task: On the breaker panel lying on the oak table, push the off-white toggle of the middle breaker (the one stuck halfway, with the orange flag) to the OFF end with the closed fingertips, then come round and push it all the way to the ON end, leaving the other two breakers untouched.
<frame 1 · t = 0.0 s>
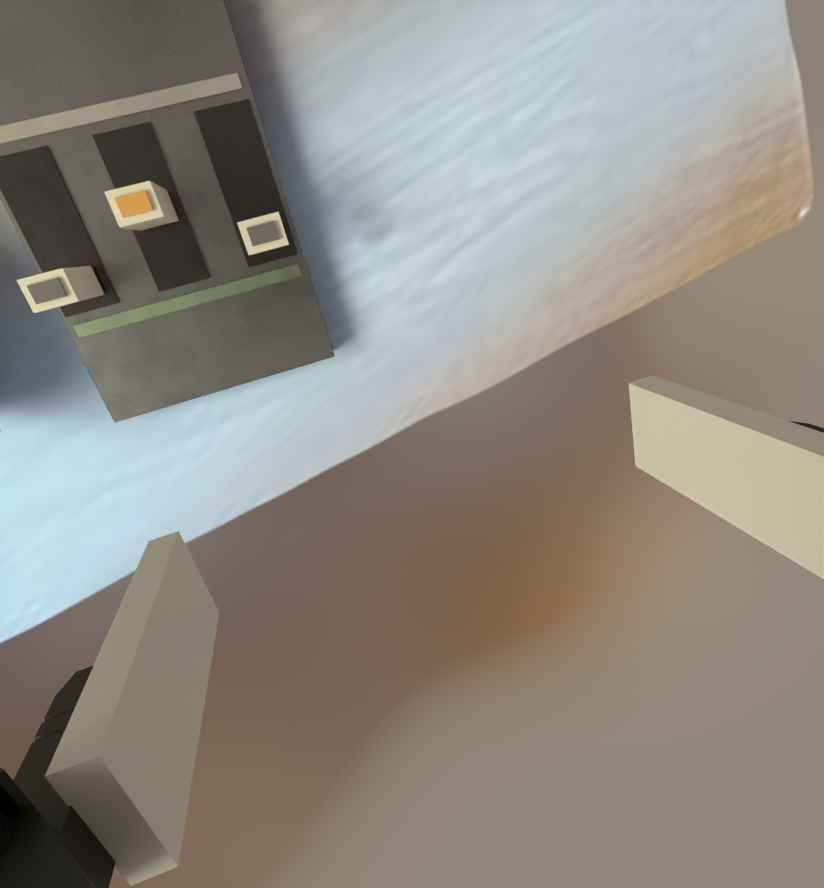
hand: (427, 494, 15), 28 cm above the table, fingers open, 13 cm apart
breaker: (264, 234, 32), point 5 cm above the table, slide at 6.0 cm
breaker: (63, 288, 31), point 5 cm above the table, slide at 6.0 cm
breaker mid: (144, 207, 30), point 5 cm above the table, slide at 3.0 cm
panel: (161, 213, 35), on the table
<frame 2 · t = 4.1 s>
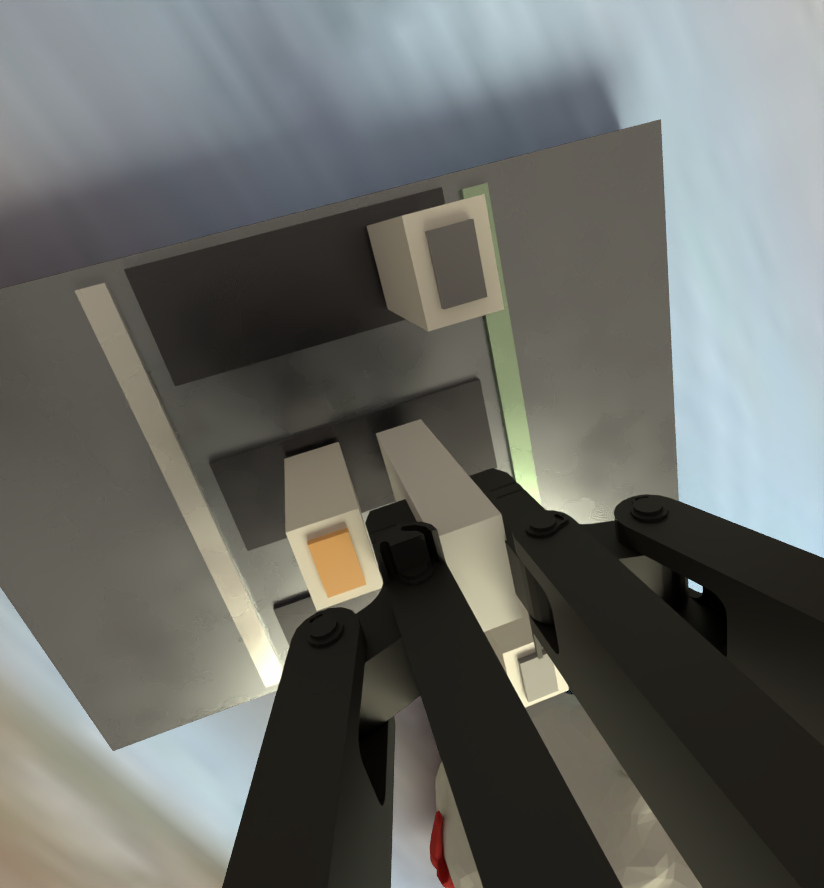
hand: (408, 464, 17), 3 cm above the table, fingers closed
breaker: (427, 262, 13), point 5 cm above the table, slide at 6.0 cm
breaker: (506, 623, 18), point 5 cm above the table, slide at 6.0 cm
breaker mid: (329, 517, 15), point 5 cm above the table, slide at 1.6 cm, touching gripper
panel: (354, 443, 20), on the table
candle: (508, 745, 28), on the table
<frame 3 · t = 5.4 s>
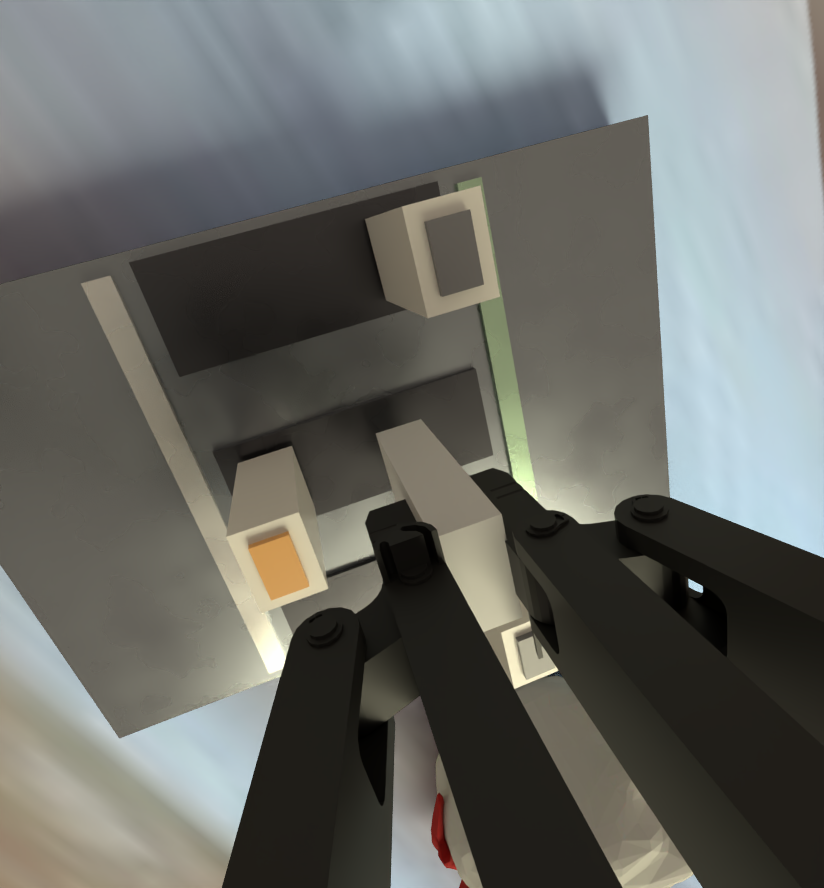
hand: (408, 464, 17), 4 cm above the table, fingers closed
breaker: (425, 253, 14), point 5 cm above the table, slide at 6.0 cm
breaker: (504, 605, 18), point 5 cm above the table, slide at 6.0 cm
breaker mid: (278, 521, 15), point 5 cm above the table, slide at -0.1 cm
panel: (354, 433, 20), on the table
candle: (506, 730, 28), on the table
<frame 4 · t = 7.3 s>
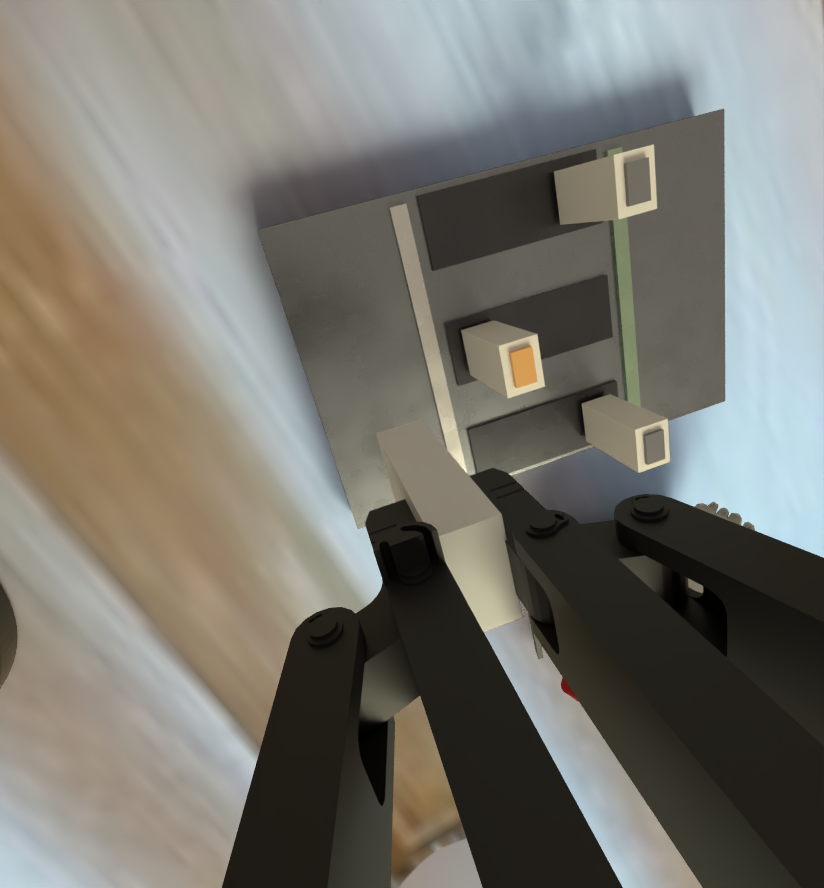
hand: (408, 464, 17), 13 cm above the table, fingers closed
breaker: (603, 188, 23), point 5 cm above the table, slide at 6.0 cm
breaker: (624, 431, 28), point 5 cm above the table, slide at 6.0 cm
breaker mid: (501, 356, 25), point 5 cm above the table, slide at -0.1 cm
panel: (515, 325, 30), on the table
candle: (593, 570, 38), on the table
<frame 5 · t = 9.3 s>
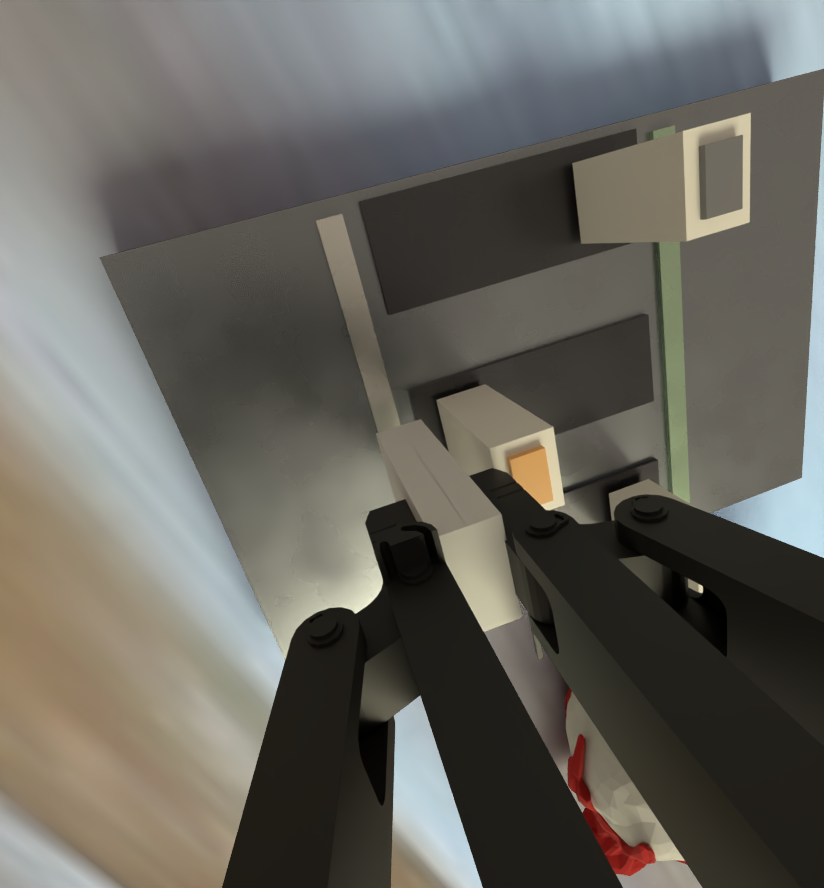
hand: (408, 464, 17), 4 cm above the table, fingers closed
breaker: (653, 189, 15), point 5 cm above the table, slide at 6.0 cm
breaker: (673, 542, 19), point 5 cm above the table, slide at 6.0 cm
breaker mid: (495, 448, 16), point 5 cm above the table, slide at 0.1 cm, touching gripper
panel: (514, 382, 21), on the table
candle: (617, 685, 29), on the table
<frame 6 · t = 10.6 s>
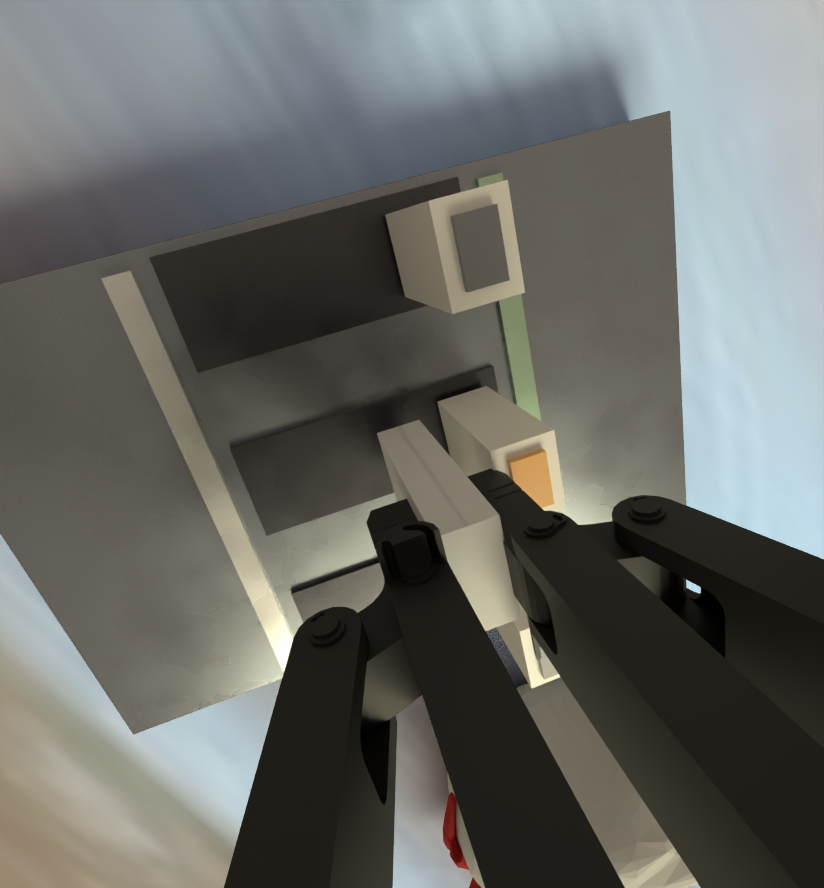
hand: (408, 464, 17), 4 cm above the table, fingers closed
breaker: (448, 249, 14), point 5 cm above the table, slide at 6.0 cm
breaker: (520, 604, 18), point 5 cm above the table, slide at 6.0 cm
breaker mid: (496, 450, 16), point 5 cm above the table, slide at 6.2 cm, touching gripper
panel: (369, 431, 20), on the table
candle: (517, 730, 28), on the table
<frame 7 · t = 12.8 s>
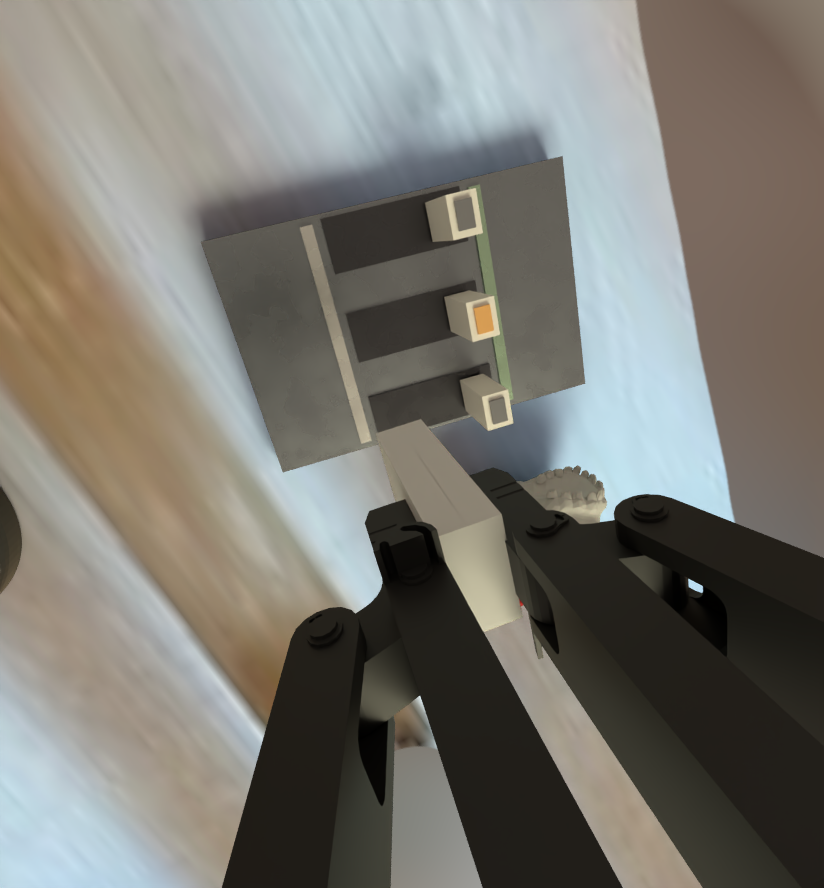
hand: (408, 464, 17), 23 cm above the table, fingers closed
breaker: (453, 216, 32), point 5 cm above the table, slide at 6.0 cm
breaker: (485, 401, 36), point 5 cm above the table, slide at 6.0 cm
breaker mid: (471, 315, 34), point 5 cm above the table, slide at 6.1 cm
panel: (410, 318, 38), on the table
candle: (489, 523, 46), on the table
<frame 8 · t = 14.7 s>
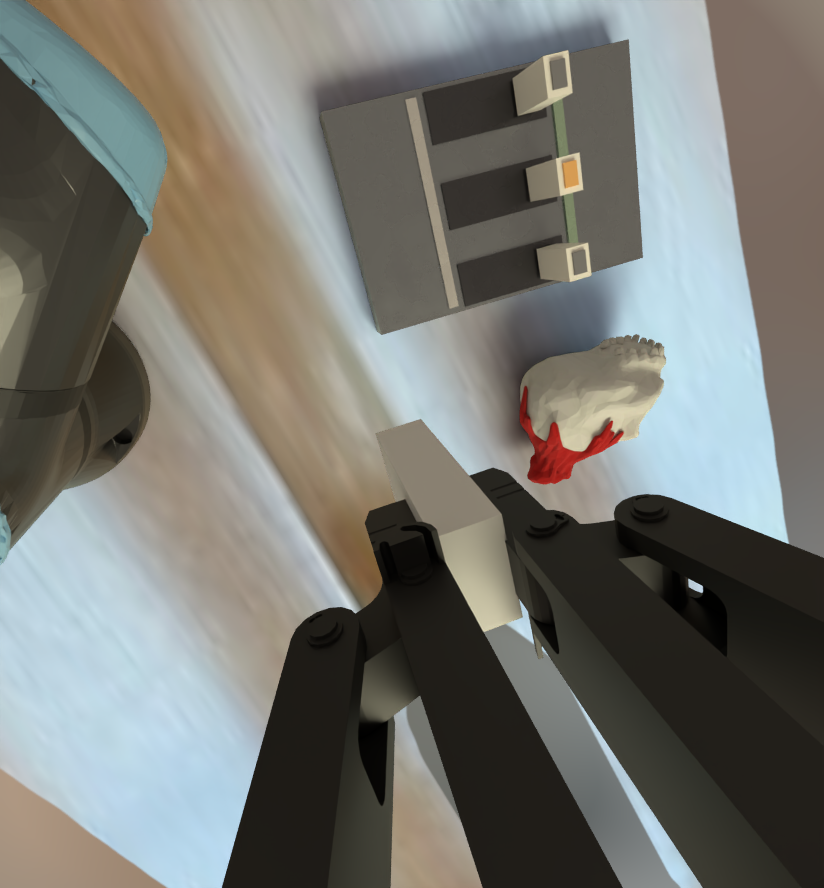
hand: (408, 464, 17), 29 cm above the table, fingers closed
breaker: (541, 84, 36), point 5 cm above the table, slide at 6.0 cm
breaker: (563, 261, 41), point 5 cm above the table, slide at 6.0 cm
breaker mid: (554, 178, 39), point 5 cm above the table, slide at 6.1 cm
panel: (490, 195, 43), on the table
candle: (553, 398, 51), on the table
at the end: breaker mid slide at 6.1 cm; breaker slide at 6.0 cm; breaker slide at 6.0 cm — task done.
